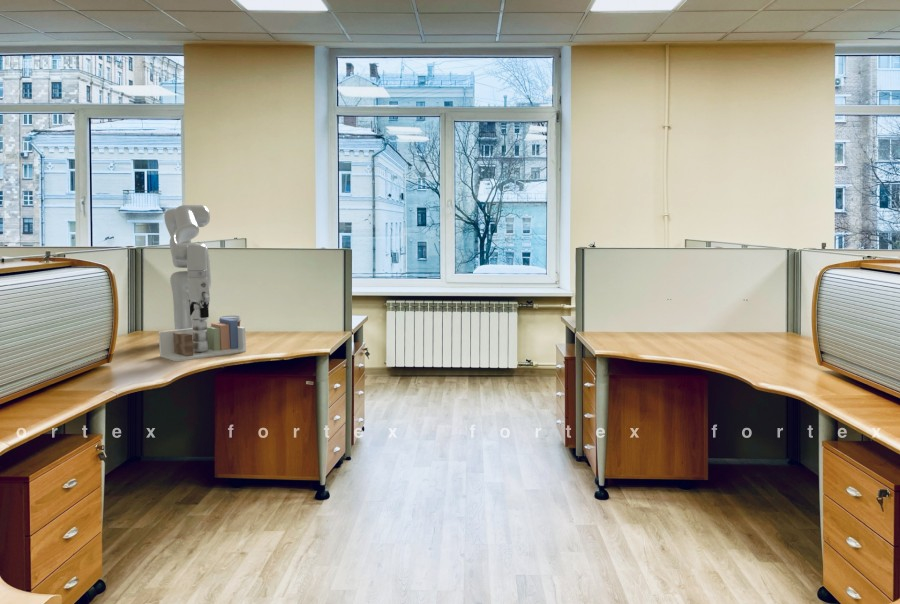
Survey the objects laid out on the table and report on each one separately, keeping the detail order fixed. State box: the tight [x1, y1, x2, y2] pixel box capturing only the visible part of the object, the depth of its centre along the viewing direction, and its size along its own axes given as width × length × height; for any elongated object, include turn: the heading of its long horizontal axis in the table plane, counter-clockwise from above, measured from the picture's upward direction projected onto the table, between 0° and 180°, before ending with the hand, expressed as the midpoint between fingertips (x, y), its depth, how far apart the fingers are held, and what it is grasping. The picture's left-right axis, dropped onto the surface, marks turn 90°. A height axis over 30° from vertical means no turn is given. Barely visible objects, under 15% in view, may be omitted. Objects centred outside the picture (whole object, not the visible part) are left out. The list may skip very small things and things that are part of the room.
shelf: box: [158, 318, 247, 362], centre depth 292 cm, size 15×30×13 cm, turn 134°
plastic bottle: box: [191, 303, 209, 352], centre depth 290 cm, size 6×7×20 cm
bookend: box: [173, 332, 193, 356], centre depth 286 cm, size 11×3×8 cm, turn 44°
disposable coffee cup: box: [218, 315, 242, 327], centre depth 317 cm, size 10×10×12 cm
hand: (199, 316), depth 289 cm, fingers open, 9 cm apart
